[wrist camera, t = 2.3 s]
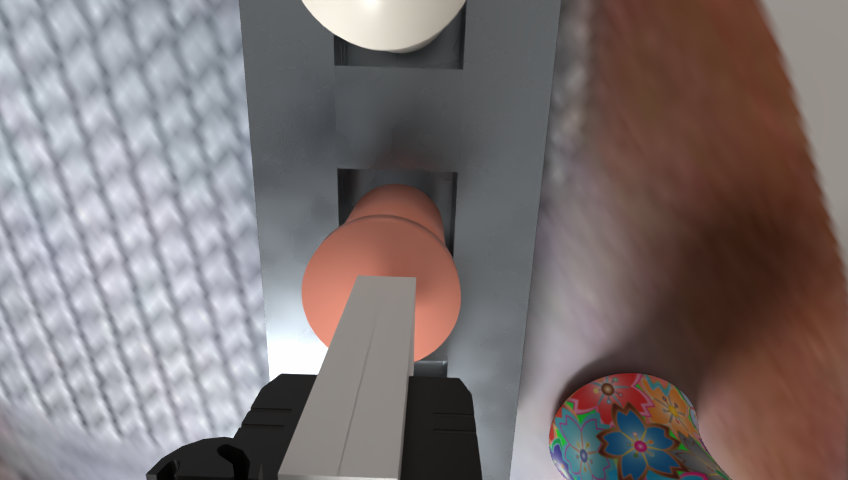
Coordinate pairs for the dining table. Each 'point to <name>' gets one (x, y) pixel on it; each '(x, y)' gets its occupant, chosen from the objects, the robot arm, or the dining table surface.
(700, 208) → the dining table surface
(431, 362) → the plug board
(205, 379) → the dining table surface
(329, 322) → the plug red
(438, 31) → the cream plug
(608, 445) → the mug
